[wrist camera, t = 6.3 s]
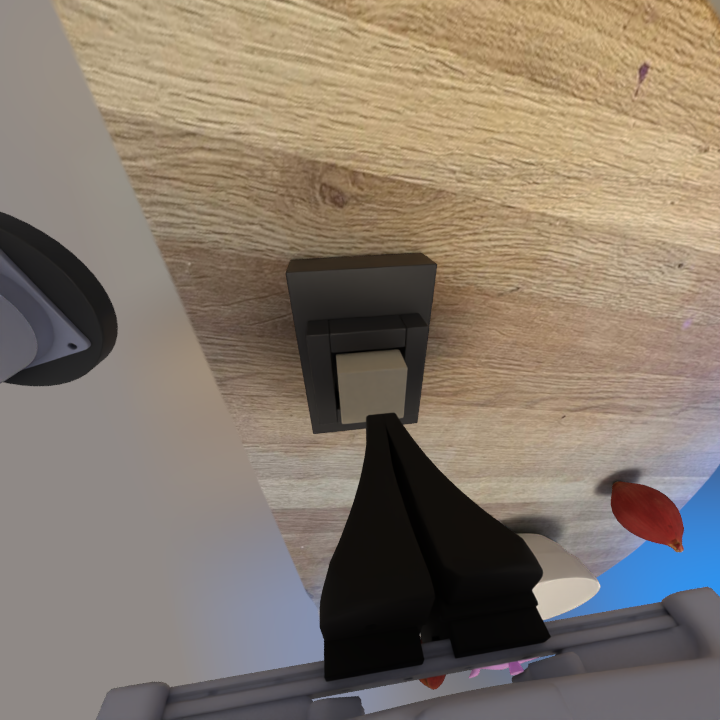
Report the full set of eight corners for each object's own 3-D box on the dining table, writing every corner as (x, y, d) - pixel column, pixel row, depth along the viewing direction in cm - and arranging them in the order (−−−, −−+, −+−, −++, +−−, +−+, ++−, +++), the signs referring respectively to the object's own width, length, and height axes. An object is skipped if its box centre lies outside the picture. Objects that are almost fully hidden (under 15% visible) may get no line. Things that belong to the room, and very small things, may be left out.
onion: (649, 467, 35) (727, 536, 28) (621, 494, 38) (685, 561, 31) (610, 469, 34) (681, 540, 27) (584, 496, 37) (642, 566, 30)
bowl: (419, 568, 44) (435, 630, 38) (499, 505, 36) (535, 572, 30) (501, 576, 50) (526, 631, 44) (584, 524, 42) (629, 582, 36)
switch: (396, 396, 18) (403, 418, 16) (340, 402, 17) (341, 424, 16) (399, 348, 16) (408, 367, 14) (335, 353, 15) (337, 374, 14)
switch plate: (408, 399, 24) (424, 441, 20) (314, 409, 23) (312, 454, 19) (422, 252, 17) (450, 273, 13) (290, 259, 16) (281, 283, 13)
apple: (420, 633, 64) (431, 686, 58) (446, 633, 67) (460, 683, 60) (403, 644, 68) (412, 694, 61) (429, 643, 70) (440, 691, 64)
